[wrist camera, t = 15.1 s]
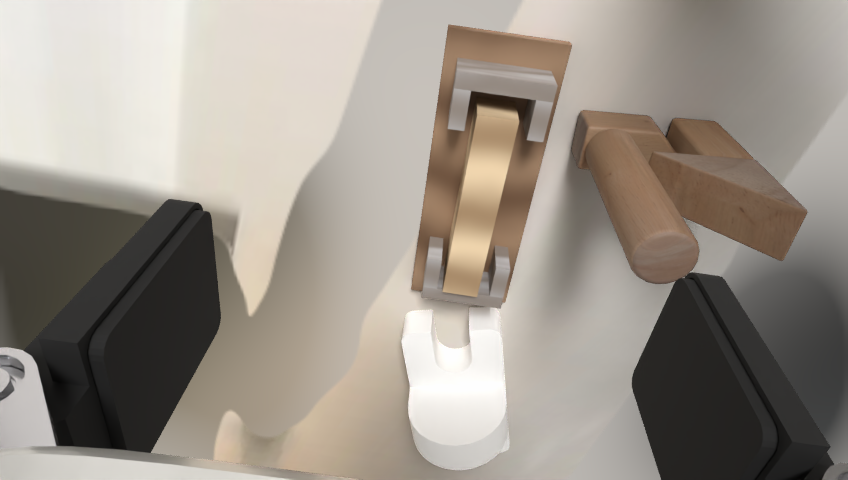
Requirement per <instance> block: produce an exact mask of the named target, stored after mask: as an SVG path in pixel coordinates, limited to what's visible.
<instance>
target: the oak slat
mask: <svg viewBox="0 0 848 480" xmlns="http://www.w3.org/2000/svg"><path fill="white" fill-rule="evenodd" d="M518 125H519V117H518V112H517V107H516V103H515V102H510V101H503V100H497V99H490V98H484V97H478V96H477V97H476V103H475V108H474V113H473V118H472V123H471V129H470V134H469V139H468V144H467V149H466V154H465V160H464V165H463V170H462V175H461V180H460V186H459V191H458V196H457V201H456V206H455V212H454V217H453V222H452V227H451V232H450V238H449V243H448V248H447V253H446V258H445V263H444V276H443V292H446V293H453V294H459V295H466V296H473V297H477V295H478V291H479V287H480V283H481V279H482V274H483V270H484V266H485V262H486V258H487V254H488V250H489V245H490V241H491V237H492V233H493V229H494V225H495V221H496V216H497V212H498V208H499V204H500V200H501V196H502V191H503V187H504V183H505V179H506V175H507V171H508V167H509V162H510V158H511V154H512V150H513V146H514V142H515V138H516V133H517V129H518Z"/></svg>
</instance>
